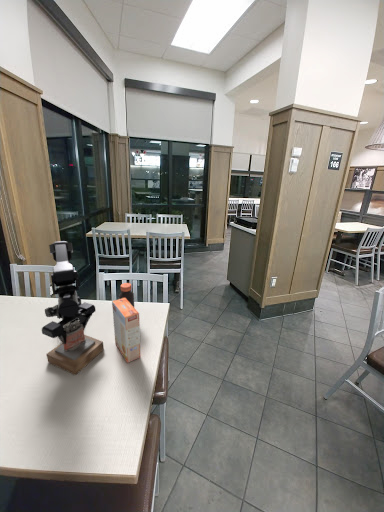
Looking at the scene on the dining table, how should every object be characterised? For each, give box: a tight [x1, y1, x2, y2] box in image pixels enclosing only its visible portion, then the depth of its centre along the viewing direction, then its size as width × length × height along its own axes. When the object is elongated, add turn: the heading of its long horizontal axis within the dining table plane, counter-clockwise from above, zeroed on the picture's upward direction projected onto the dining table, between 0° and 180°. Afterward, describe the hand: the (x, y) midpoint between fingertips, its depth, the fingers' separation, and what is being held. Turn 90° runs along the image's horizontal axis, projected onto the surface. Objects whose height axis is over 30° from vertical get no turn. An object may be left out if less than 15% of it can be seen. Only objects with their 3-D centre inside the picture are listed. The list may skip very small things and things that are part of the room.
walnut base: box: [46, 334, 105, 376], centre depth 88 cm, size 14×14×5 cm
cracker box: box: [111, 298, 141, 364], centre depth 89 cm, size 14×6×21 cm, turn 37°
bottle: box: [118, 282, 135, 308], centre depth 108 cm, size 7×7×20 cm
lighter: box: [63, 320, 86, 352], centre depth 85 cm, size 8×3×10 cm, turn 143°
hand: (73, 337), depth 85 cm, fingers closed on lighter, 8 cm apart
